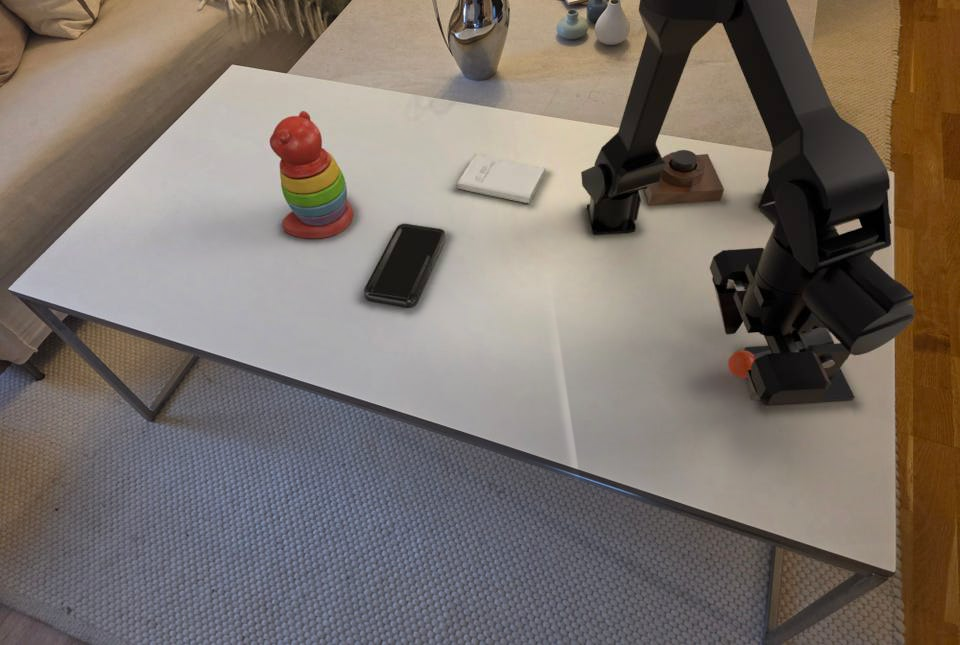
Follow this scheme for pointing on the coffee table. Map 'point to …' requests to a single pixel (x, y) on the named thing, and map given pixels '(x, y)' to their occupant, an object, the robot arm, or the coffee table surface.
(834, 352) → the switch bracket
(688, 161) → the button
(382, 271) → the phone
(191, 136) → the coffee table surface
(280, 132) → the stacking bear
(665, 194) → the button block
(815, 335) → the switch lever
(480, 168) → the hard drive
